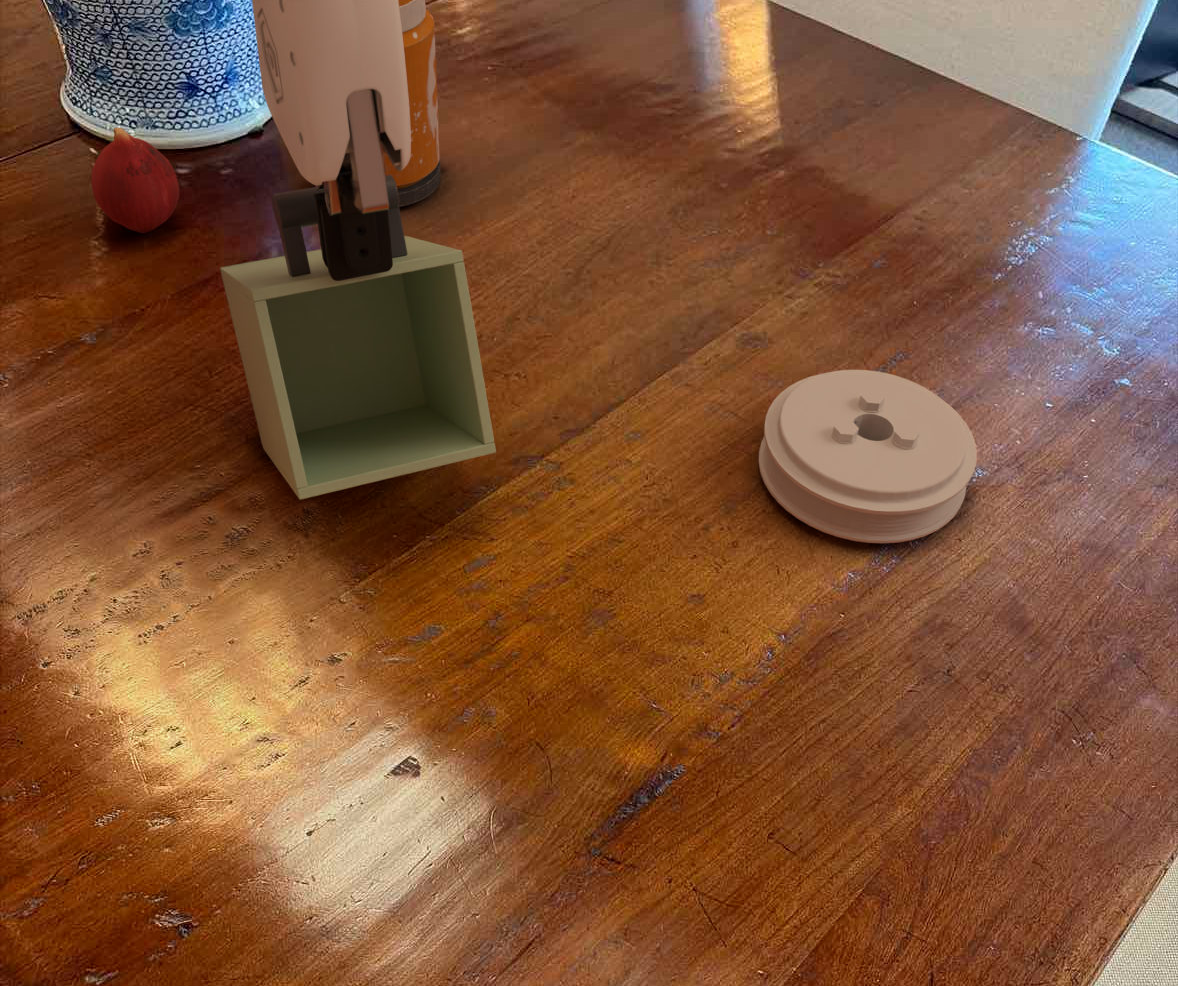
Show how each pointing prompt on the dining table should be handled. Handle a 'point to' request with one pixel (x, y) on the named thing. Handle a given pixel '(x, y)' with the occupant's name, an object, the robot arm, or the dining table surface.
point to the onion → (134, 183)
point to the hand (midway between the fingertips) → (358, 266)
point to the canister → (419, 105)
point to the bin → (359, 358)
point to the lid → (866, 456)
